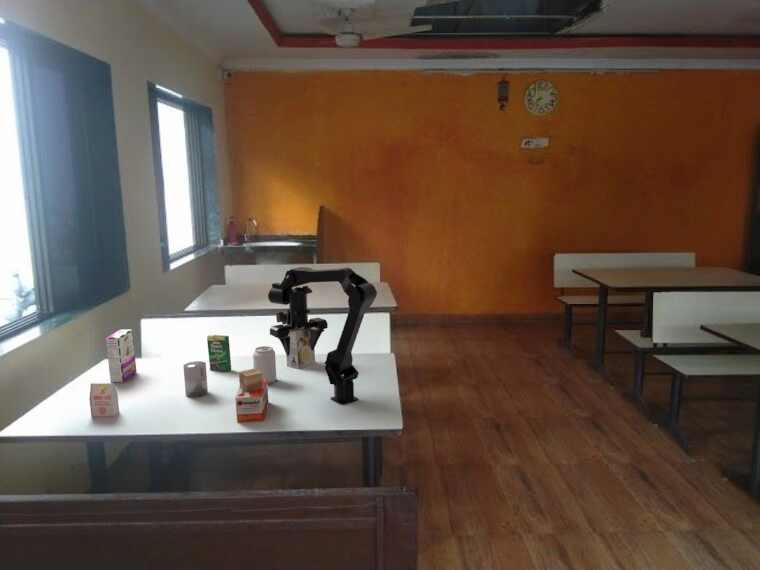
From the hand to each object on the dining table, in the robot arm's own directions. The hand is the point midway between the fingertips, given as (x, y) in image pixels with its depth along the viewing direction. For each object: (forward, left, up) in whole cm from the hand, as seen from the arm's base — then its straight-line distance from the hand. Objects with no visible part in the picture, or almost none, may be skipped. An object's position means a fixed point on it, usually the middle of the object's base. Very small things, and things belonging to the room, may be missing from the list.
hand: (300, 352), depth 196 cm
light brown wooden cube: (-7, +21, -5) cm, 23 cm away
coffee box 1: (+38, +12, -13) cm, 42 cm away
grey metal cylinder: (+20, +28, -13) cm, 37 cm away
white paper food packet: (+21, +56, -13) cm, 61 cm away
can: (+16, +5, -13) cm, 21 cm away
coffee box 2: (+24, -14, -13) cm, 31 cm away
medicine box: (-6, +21, -14) cm, 26 cm away
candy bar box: (+53, +42, -13) cm, 69 cm away
